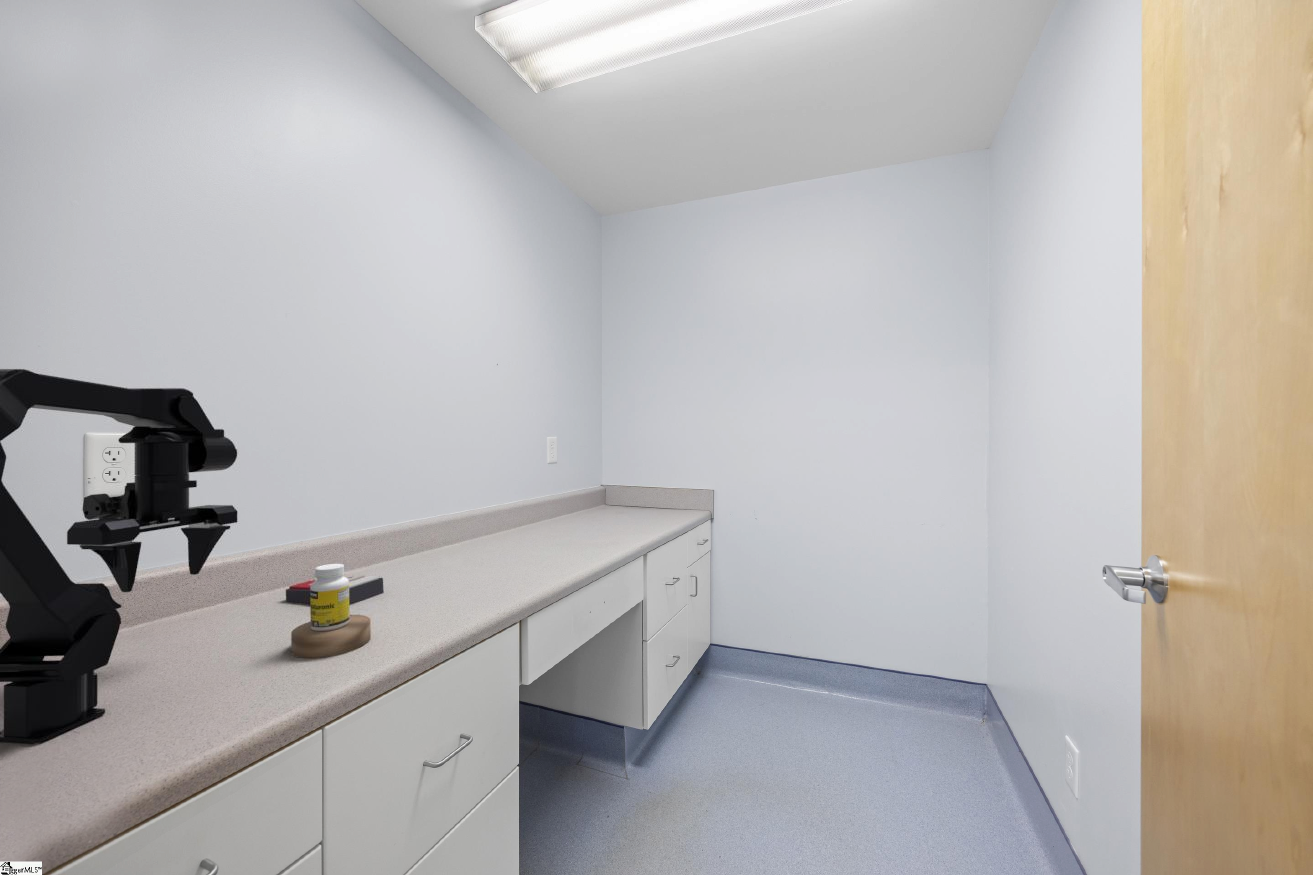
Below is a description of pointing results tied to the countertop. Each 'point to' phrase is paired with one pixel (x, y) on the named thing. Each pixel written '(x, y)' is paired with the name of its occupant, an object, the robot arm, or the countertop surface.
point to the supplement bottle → (329, 598)
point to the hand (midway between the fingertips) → (162, 582)
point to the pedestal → (330, 638)
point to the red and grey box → (358, 589)
